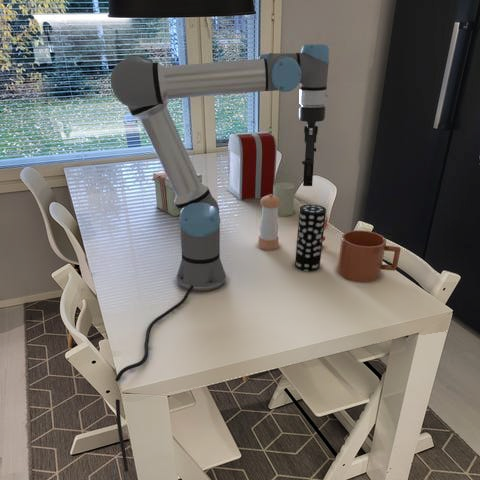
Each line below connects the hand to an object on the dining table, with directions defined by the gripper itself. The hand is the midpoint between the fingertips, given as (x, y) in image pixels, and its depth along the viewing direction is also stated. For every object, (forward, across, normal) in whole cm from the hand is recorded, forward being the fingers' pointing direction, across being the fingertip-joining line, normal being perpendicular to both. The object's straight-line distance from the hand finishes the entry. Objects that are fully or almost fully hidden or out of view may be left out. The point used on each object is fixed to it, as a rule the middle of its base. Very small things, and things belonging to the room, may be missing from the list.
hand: (308, 179), depth 151 cm
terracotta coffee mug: (+29, -5, -21) cm, 36 cm away
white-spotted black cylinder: (+29, -3, -1) cm, 29 cm away
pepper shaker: (+28, +12, +13) cm, 33 cm away
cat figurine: (+29, +14, -4) cm, 32 cm away
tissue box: (+28, +72, +27) cm, 82 cm away
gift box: (+27, +43, +55) cm, 75 cm away
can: (+28, +48, +10) cm, 57 cm away
